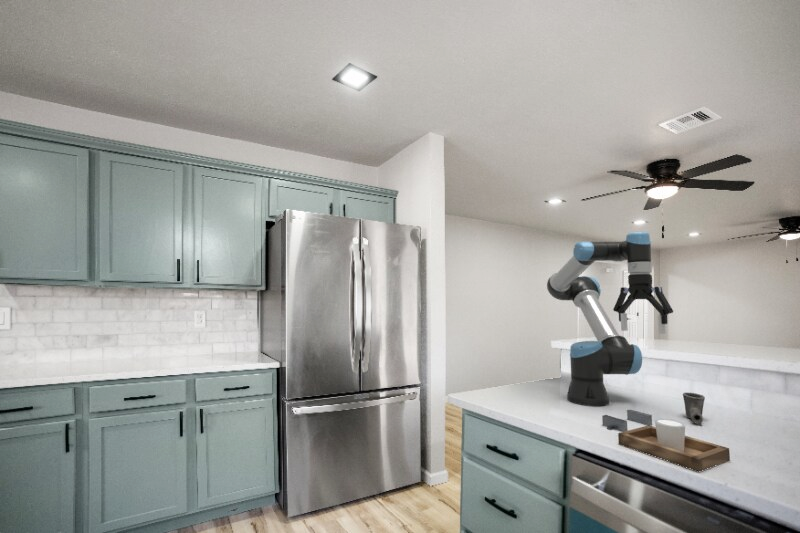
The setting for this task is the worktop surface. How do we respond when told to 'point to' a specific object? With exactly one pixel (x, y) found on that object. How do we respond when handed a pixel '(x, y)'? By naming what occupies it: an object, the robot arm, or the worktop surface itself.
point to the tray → (694, 455)
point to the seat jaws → (622, 424)
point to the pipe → (694, 406)
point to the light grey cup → (670, 433)
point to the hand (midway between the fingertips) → (642, 332)
